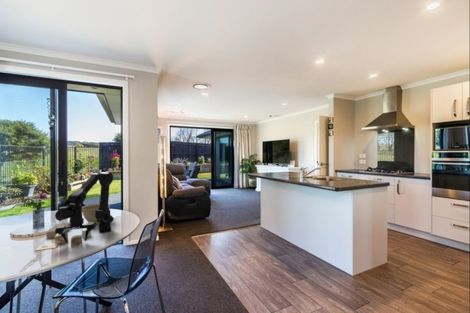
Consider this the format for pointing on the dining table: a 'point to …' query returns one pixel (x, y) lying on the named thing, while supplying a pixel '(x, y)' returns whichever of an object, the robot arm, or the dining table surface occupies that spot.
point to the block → (85, 232)
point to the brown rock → (51, 232)
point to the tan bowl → (91, 212)
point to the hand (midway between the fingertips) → (76, 242)
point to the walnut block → (76, 240)
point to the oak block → (59, 238)
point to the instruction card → (47, 246)
